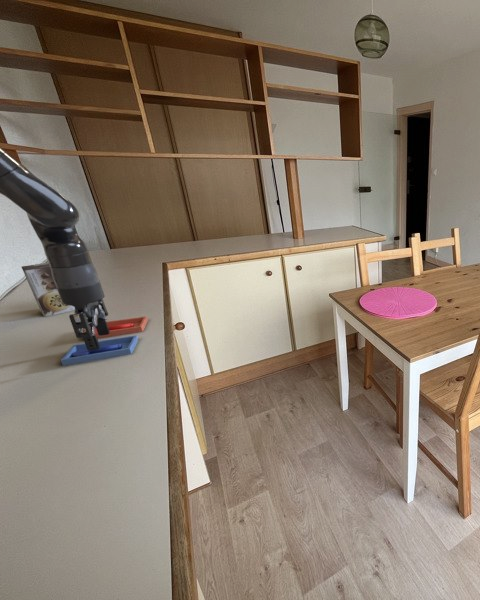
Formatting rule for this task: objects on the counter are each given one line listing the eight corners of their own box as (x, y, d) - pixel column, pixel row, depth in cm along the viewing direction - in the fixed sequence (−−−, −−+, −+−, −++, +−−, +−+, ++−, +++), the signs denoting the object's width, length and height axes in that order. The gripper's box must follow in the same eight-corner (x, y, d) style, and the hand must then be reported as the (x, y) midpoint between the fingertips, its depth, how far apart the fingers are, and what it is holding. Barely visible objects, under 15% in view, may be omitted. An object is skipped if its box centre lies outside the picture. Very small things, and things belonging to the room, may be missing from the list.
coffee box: (78, 304, 110) (61, 260, 104) (83, 309, 107) (66, 263, 101) (40, 312, 103) (20, 265, 97) (44, 318, 100) (24, 269, 94)
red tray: (84, 341, 87) (81, 335, 87) (93, 329, 94) (91, 323, 93) (142, 332, 93) (141, 326, 92) (148, 321, 100) (146, 316, 99)
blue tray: (63, 367, 76) (60, 360, 75) (76, 351, 83) (73, 344, 82) (132, 355, 82) (129, 348, 81) (138, 341, 88) (136, 335, 88)
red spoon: (135, 325, 97) (134, 320, 96) (133, 329, 94) (132, 325, 93) (94, 330, 92) (92, 326, 92) (90, 335, 89) (88, 331, 89)
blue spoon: (124, 345, 85) (123, 341, 85) (121, 351, 82) (119, 346, 82) (76, 353, 81) (74, 348, 80) (71, 360, 78) (69, 355, 78)
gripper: (88, 289, 71) (110, 351, 77) (107, 272, 83) (124, 327, 89) (42, 294, 68) (69, 358, 74) (68, 275, 79) (89, 332, 85)
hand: (99, 341), depth 81 cm, fingers open, 8 cm apart
